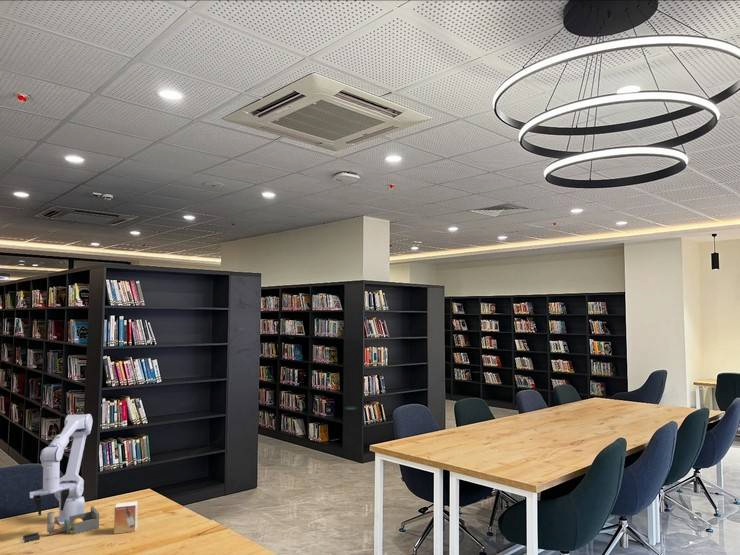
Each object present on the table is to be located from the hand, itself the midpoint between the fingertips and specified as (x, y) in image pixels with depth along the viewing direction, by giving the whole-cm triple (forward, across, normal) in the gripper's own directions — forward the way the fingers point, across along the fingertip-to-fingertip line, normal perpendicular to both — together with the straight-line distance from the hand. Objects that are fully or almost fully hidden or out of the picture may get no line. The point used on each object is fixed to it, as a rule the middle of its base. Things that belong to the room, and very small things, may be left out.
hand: (50, 512), depth 218 cm
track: (+9, -7, 0) cm, 11 cm away
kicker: (+9, +3, 0) cm, 9 cm away
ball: (+7, +10, 0) cm, 12 cm away
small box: (+9, +24, -15) cm, 30 cm away
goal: (+9, +12, 0) cm, 15 cm away
